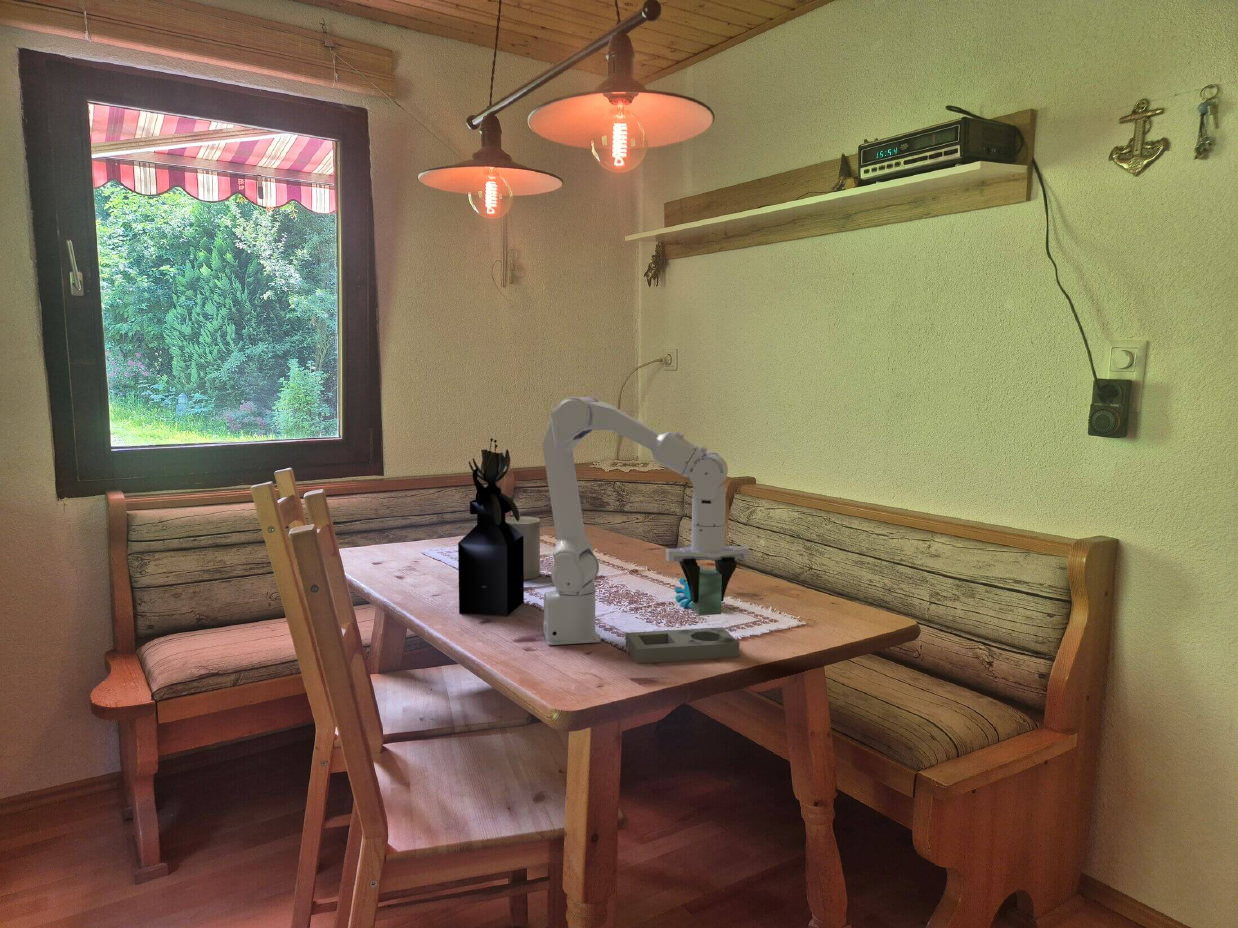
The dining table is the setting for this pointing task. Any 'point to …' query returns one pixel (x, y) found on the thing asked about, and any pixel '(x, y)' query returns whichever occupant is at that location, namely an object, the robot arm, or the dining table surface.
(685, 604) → the gear
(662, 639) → the hole plate
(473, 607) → the vase
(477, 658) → the dining table surface
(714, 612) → the square peg
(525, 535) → the pillar candle
